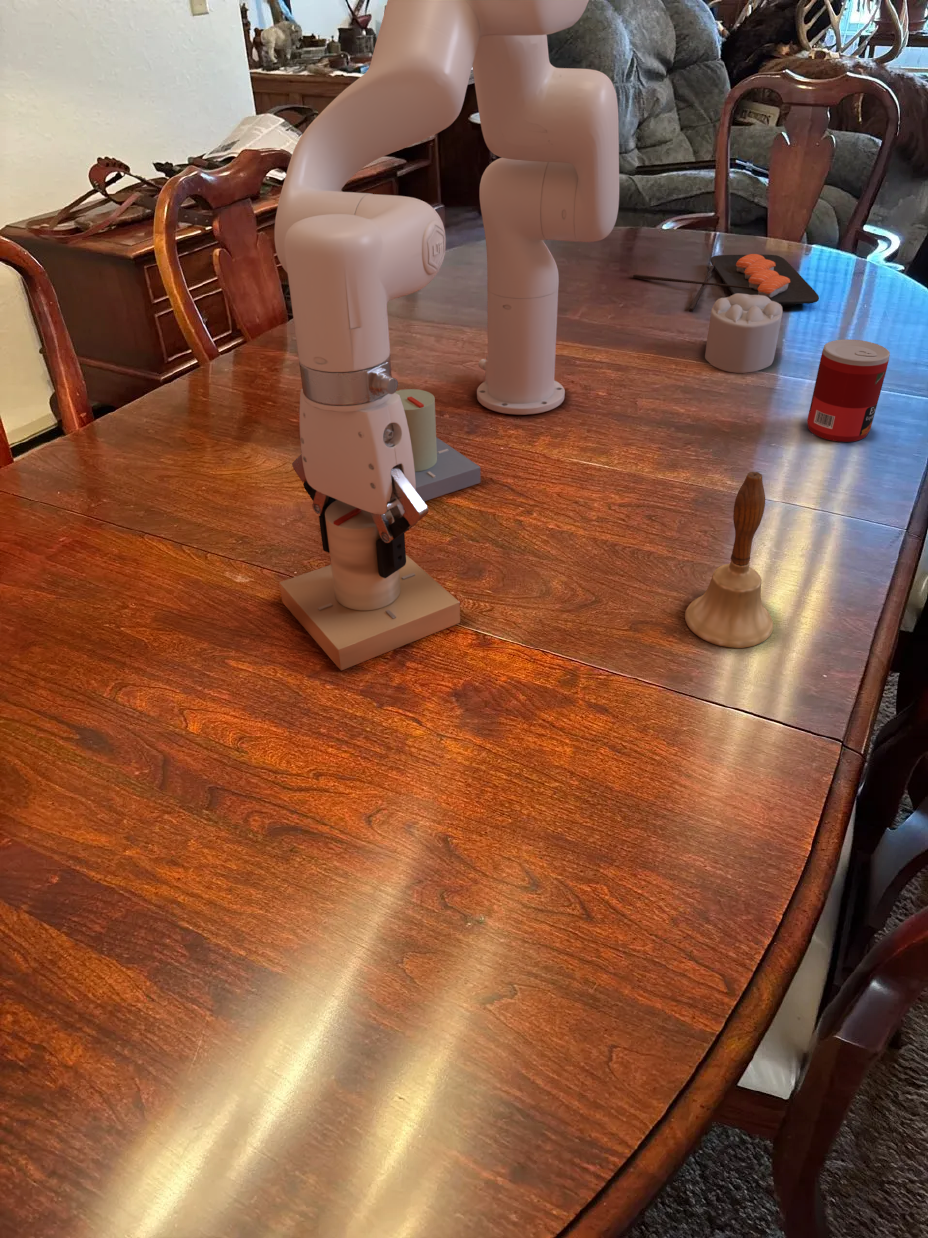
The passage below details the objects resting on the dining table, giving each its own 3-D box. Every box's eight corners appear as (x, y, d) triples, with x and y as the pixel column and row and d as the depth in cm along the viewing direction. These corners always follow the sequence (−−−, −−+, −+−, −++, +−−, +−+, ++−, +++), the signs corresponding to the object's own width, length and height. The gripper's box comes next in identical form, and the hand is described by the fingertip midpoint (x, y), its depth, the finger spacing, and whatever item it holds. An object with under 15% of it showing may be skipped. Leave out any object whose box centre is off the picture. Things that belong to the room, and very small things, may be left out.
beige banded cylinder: (366, 566, 93) (358, 484, 88) (414, 587, 90) (408, 504, 85) (321, 595, 89) (309, 511, 84) (369, 618, 86) (361, 533, 81)
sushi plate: (822, 311, 160) (827, 289, 158) (649, 314, 161) (651, 292, 158) (778, 263, 183) (782, 243, 181) (627, 265, 184) (629, 245, 182)
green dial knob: (379, 458, 113) (374, 394, 108) (421, 445, 116) (417, 382, 111) (403, 476, 109) (399, 411, 104) (446, 463, 112) (444, 398, 107)
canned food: (873, 445, 119) (895, 362, 112) (808, 440, 120) (826, 358, 113) (864, 420, 125) (885, 340, 118) (803, 416, 126) (820, 337, 119)
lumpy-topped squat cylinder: (777, 346, 147) (787, 291, 142) (769, 376, 137) (780, 318, 132) (711, 339, 150) (718, 285, 145) (698, 368, 140) (706, 311, 135)
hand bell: (757, 658, 84) (791, 506, 75) (671, 630, 88) (693, 481, 78) (783, 612, 90) (818, 465, 80) (702, 588, 94) (726, 444, 84)
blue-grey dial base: (347, 471, 115) (346, 454, 114) (429, 447, 120) (429, 430, 119) (395, 511, 107) (394, 493, 106) (480, 482, 112) (480, 465, 111)
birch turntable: (282, 602, 93) (278, 580, 91) (394, 562, 98) (392, 541, 97) (340, 671, 84) (338, 648, 82) (460, 622, 90) (459, 600, 88)
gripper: (455, 387, 75) (460, 571, 85) (306, 342, 83) (327, 514, 94) (394, 418, 70) (407, 609, 81) (243, 368, 79) (272, 546, 89)
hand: (364, 556), depth 87 cm, fingers closed on beige banded cylinder, 6 cm apart
